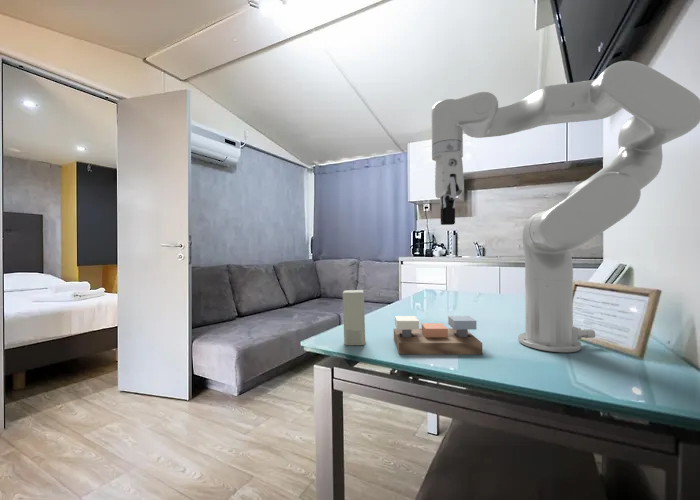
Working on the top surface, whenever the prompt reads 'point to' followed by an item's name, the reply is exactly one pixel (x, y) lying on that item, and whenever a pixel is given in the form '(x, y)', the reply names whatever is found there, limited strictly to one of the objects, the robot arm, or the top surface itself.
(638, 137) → the robot arm
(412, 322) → the cream key
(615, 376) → the top surface
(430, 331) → the terracotta key
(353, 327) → the box
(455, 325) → the slate key
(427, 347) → the walnut board
